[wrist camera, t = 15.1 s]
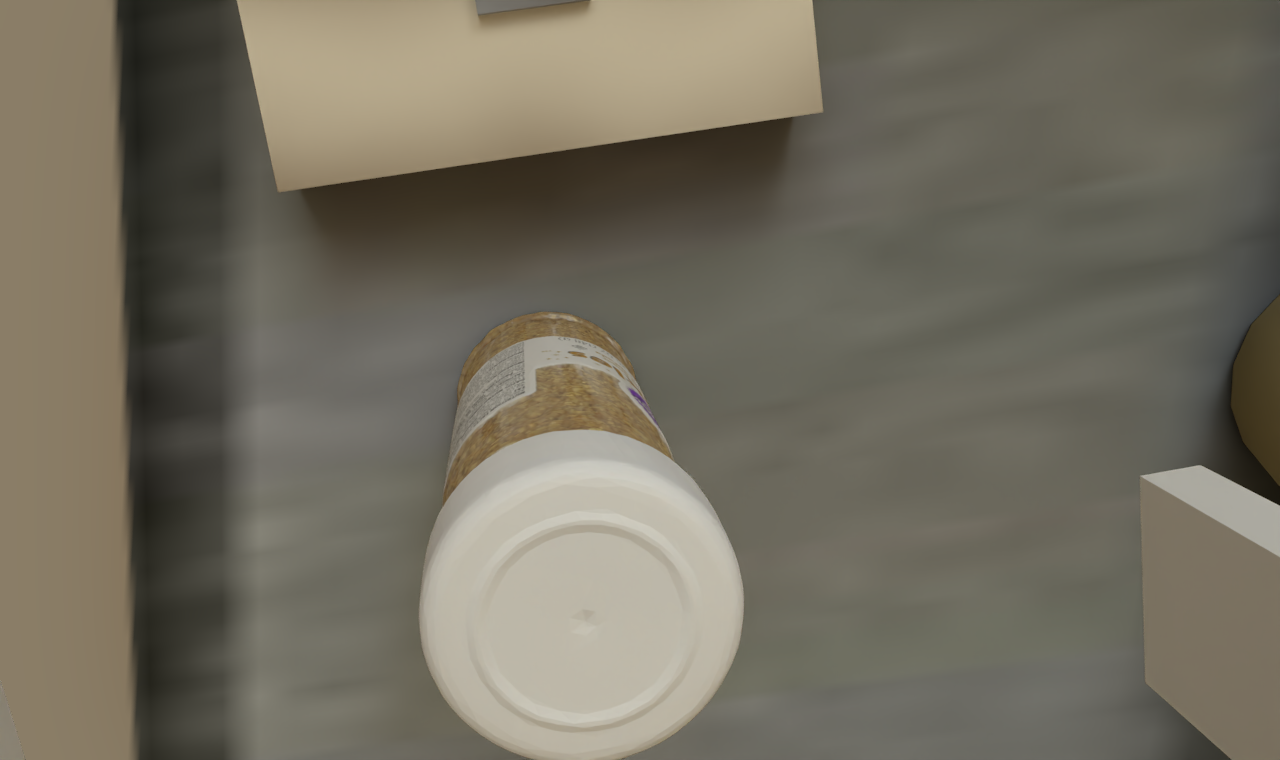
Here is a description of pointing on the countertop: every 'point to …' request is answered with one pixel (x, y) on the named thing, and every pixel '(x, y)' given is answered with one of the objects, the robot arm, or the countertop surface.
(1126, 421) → the countertop surface
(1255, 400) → the squeeze bottle
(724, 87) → the holder block
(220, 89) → the countertop surface
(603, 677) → the sprinkles bottle
